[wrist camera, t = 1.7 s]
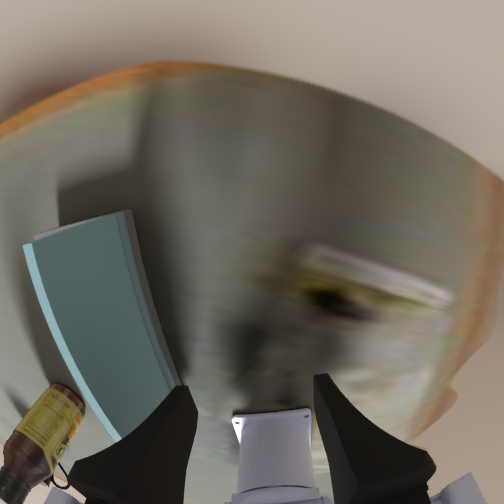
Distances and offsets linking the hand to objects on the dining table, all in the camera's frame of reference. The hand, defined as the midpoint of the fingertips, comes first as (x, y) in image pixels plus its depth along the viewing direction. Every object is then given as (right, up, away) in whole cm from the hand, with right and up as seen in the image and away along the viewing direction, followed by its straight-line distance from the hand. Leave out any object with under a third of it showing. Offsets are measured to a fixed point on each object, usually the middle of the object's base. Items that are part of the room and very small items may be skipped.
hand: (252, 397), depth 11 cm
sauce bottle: (-24, -12, +14) cm, 30 cm away
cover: (-8, 0, +3) cm, 8 cm away
